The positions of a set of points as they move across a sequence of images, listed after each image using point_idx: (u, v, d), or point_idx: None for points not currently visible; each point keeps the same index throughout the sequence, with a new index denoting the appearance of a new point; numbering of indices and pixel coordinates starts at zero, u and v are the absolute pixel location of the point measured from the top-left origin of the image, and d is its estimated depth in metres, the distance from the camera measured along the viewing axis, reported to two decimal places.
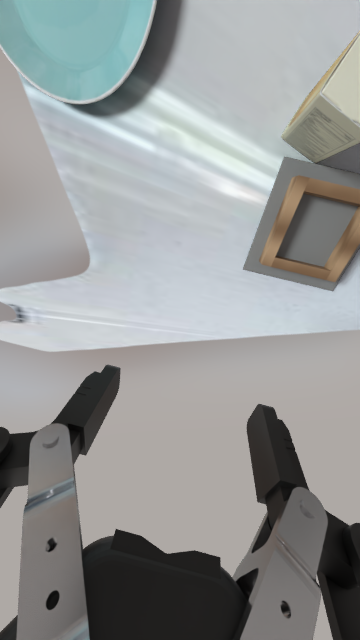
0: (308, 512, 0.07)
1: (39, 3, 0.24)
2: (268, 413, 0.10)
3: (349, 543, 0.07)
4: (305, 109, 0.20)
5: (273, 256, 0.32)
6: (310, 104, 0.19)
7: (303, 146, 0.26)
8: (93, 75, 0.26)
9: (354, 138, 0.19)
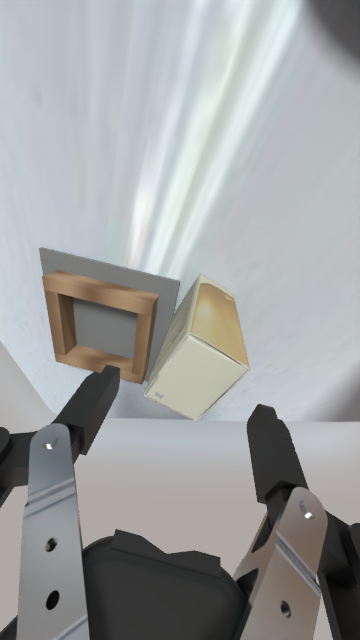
0: (308, 512, 0.07)
1: None
2: (268, 413, 0.10)
3: (349, 543, 0.07)
4: (193, 308, 0.14)
5: (57, 290, 0.22)
6: (191, 316, 0.13)
7: (183, 303, 0.21)
8: None
9: (153, 370, 0.15)
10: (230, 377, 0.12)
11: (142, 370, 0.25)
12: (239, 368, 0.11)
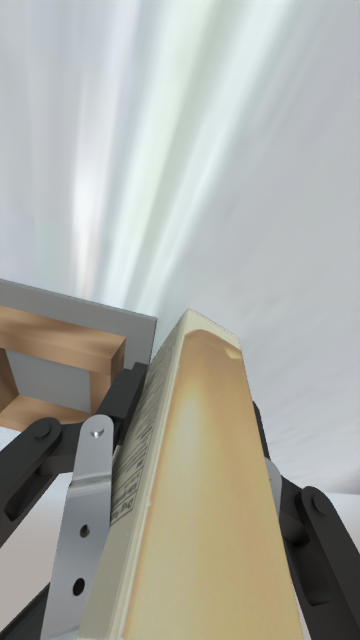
0: None
1: None
2: None
3: (301, 508, 0.07)
4: (160, 434, 0.06)
5: None
6: (147, 485, 0.05)
7: (160, 357, 0.13)
8: None
9: None
10: None
11: None
12: None
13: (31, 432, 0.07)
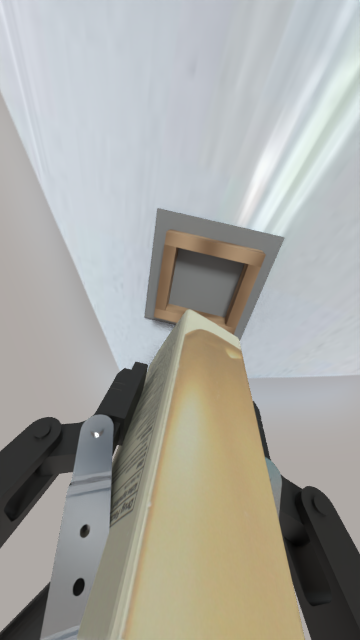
0: None
1: None
2: None
3: (301, 508, 0.07)
4: (161, 435, 0.06)
5: (177, 244, 0.25)
6: (147, 485, 0.05)
7: (160, 357, 0.13)
8: None
9: None
10: None
11: (237, 322, 0.28)
12: None
13: (31, 432, 0.07)
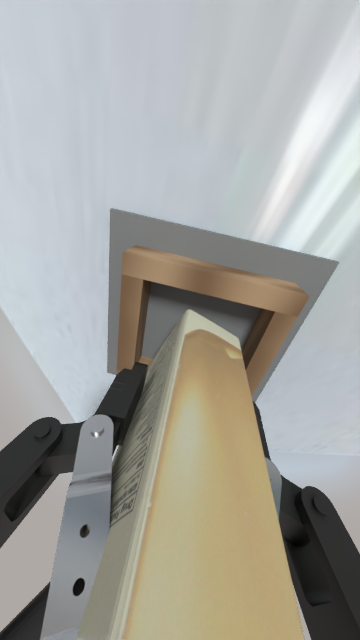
0: None
1: None
2: None
3: (301, 508, 0.07)
4: (160, 435, 0.06)
5: (145, 275, 0.13)
6: (147, 486, 0.05)
7: (160, 357, 0.13)
8: None
9: None
10: None
11: None
12: None
13: (31, 432, 0.07)
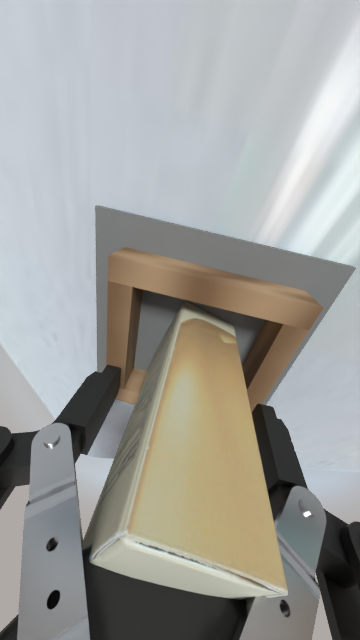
0: (307, 511, 0.07)
1: None
2: (267, 412, 0.10)
3: (348, 542, 0.07)
4: (158, 400, 0.07)
5: (134, 282, 0.12)
6: (146, 435, 0.06)
7: (160, 347, 0.14)
8: None
9: (96, 507, 0.08)
10: (239, 596, 0.05)
11: None
12: (261, 590, 0.05)
13: None
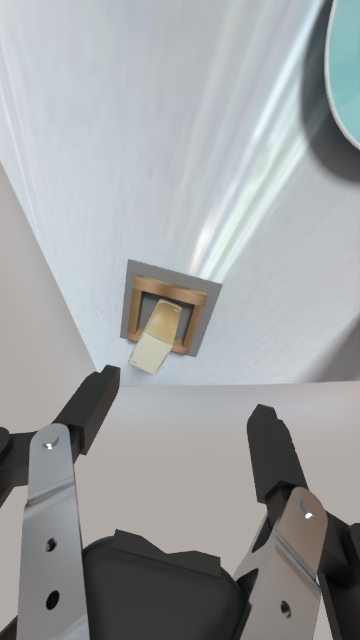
0: (308, 512, 0.07)
1: None
2: (268, 413, 0.10)
3: (349, 543, 0.07)
4: (150, 319, 0.28)
5: (142, 288, 0.33)
6: (147, 324, 0.27)
7: None
8: (352, 36, 0.19)
9: None
10: (165, 351, 0.26)
11: (190, 344, 0.37)
12: (168, 346, 0.26)
13: None
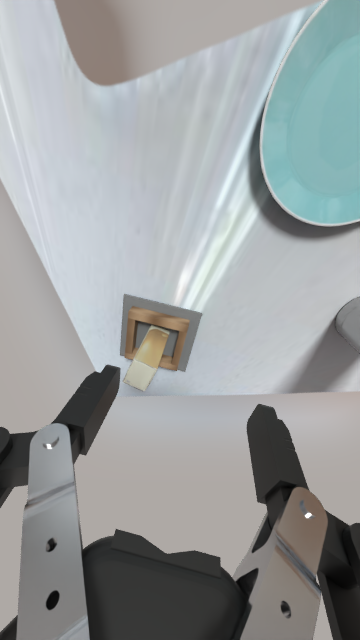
0: (308, 512, 0.07)
1: (351, 75, 0.23)
2: (268, 413, 0.10)
3: (349, 543, 0.07)
4: (140, 346, 0.35)
5: (135, 318, 0.40)
6: (137, 351, 0.34)
7: None
8: (280, 142, 0.26)
9: None
10: (151, 372, 0.33)
11: (178, 362, 0.44)
12: (153, 369, 0.33)
13: None
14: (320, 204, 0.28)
